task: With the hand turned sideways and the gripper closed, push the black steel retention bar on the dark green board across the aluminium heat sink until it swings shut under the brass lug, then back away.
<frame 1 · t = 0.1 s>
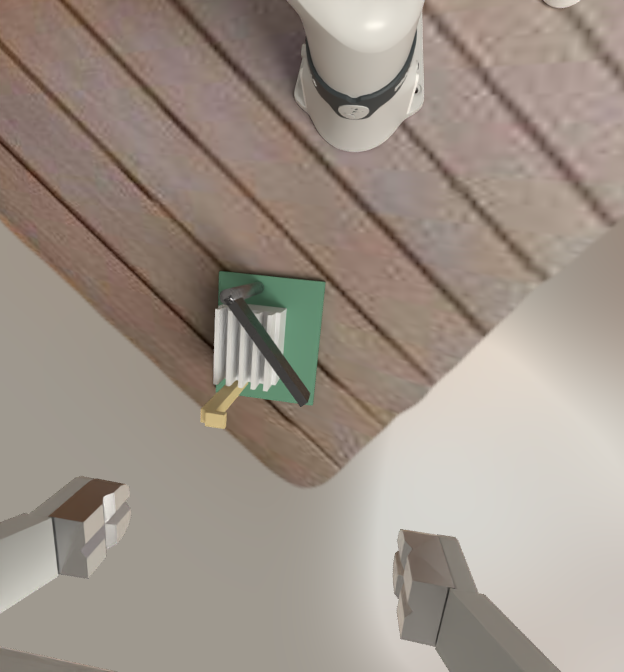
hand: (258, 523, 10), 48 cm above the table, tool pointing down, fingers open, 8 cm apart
retention bar: (276, 336, 49), point 9 cm above the table, hinge at 40.0°
board: (268, 338, 59), on the table
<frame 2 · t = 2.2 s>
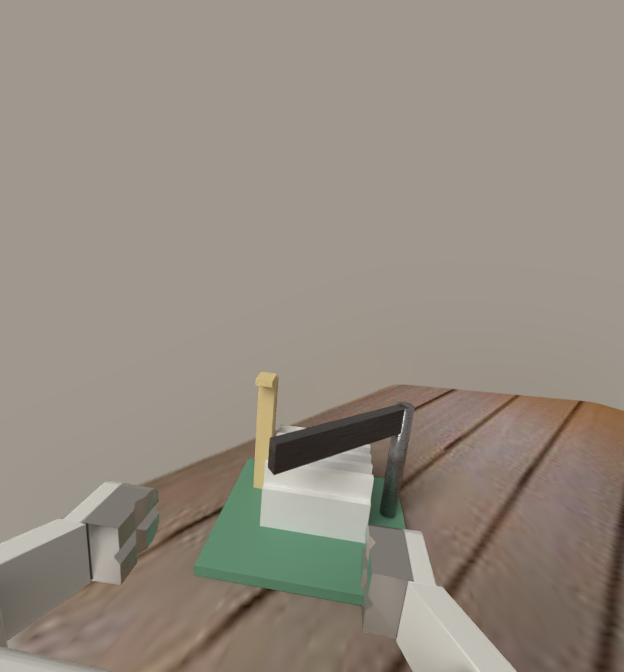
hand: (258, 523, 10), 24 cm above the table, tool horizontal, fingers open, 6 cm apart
retention bar: (344, 481, 35), point 9 cm above the table, hinge at 40.0°
board: (313, 522, 41), on the table
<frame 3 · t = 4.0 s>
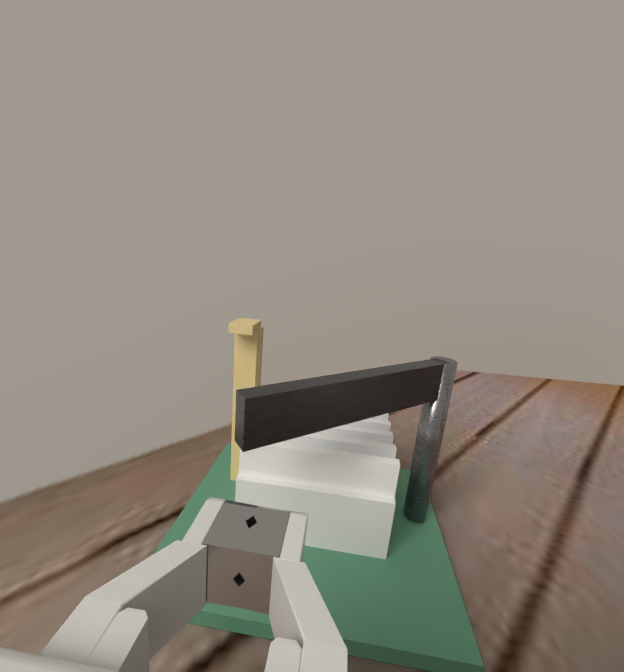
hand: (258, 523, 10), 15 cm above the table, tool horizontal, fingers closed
retention bar: (356, 468, 24), point 9 cm above the table, hinge at 40.0°
board: (311, 528, 29), on the table
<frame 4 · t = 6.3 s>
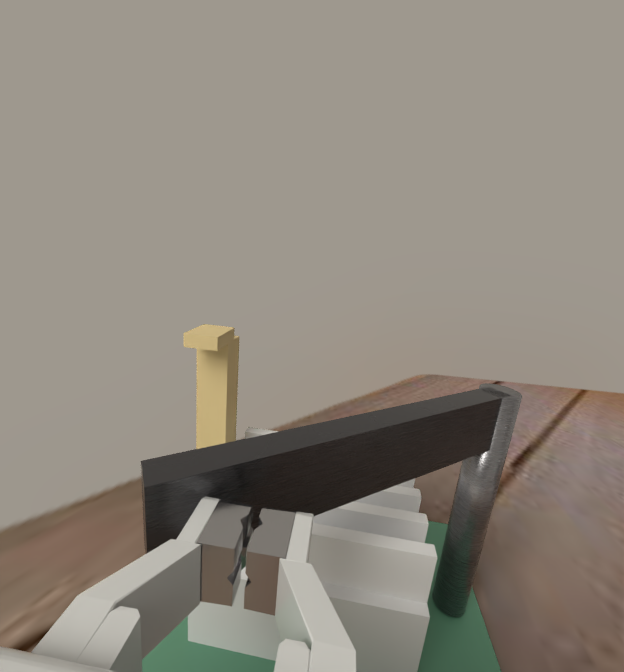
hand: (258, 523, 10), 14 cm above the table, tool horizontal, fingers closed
retention bar: (365, 558, 15), point 9 cm above the table, hinge at 37.7°, touching gripper
board: (303, 622, 21), on the table
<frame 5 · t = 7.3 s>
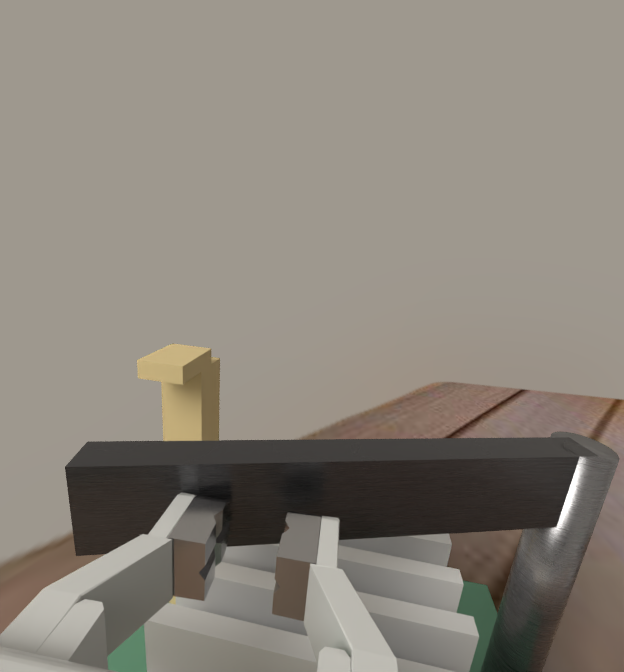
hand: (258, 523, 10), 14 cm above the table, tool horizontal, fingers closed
retention bar: (352, 614, 13), point 9 cm above the table, hinge at 17.3°, touching gripper
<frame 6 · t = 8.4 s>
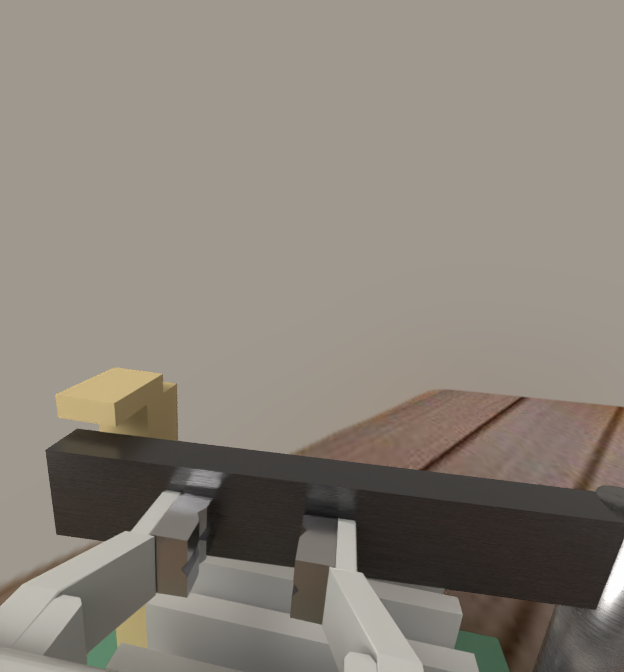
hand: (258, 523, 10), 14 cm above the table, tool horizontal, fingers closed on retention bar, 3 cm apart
retention bar: (330, 654, 11), point 9 cm above the table, hinge at 3.5°, touching gripper
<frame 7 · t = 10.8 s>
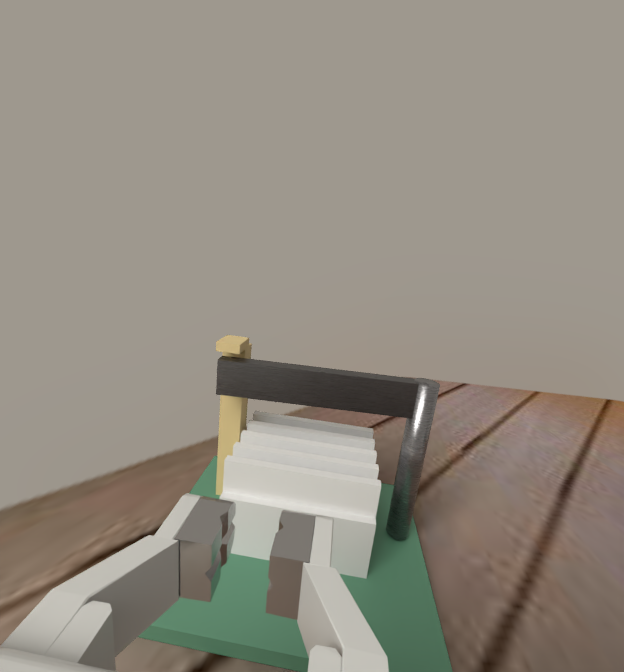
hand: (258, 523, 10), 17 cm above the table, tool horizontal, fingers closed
retention bar: (318, 449, 29), point 9 cm above the table, hinge at 3.3°
board: (294, 545, 29), on the table
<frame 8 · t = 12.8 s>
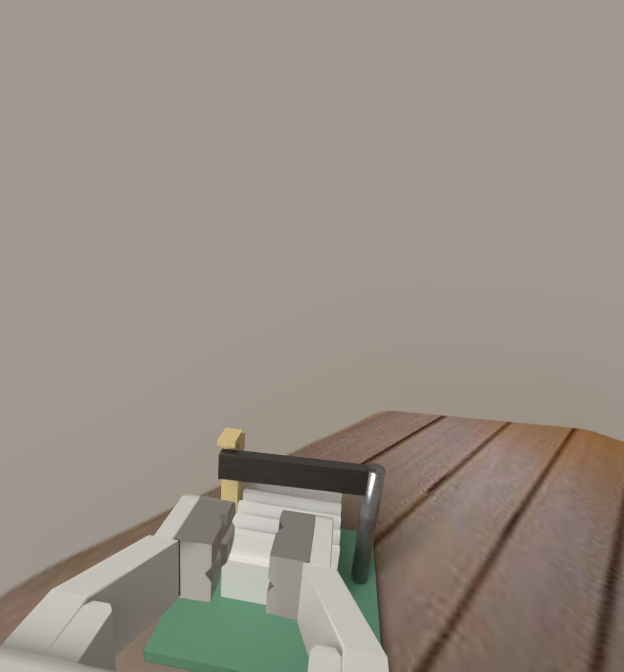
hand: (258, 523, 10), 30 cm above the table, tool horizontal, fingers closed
retention bar: (296, 516, 38), point 9 cm above the table, hinge at 3.3°
board: (280, 588, 38), on the table
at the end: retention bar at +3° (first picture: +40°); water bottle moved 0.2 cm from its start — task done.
